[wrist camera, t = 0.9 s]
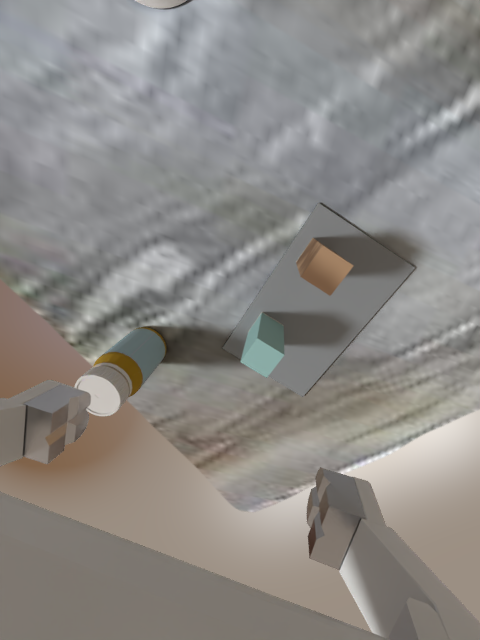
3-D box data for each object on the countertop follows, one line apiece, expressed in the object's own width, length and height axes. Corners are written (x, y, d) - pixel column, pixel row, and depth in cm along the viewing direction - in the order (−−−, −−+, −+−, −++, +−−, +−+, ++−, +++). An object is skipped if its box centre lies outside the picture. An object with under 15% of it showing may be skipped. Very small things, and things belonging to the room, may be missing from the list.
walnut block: (312, 237, 40) (322, 245, 30) (336, 253, 40) (353, 265, 31) (295, 262, 41) (300, 276, 32) (319, 277, 41) (330, 296, 32)
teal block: (261, 311, 44) (257, 338, 35) (283, 325, 45) (284, 355, 35) (248, 331, 46) (240, 362, 37) (269, 344, 46) (266, 377, 37)
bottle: (173, 337, 48) (131, 388, 35) (159, 369, 51) (114, 427, 37) (136, 318, 48) (78, 362, 34) (124, 351, 51) (64, 403, 37)
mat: (318, 202, 38) (318, 202, 38) (414, 267, 40) (415, 267, 39) (222, 347, 48) (222, 348, 48) (302, 395, 49) (302, 396, 49)
